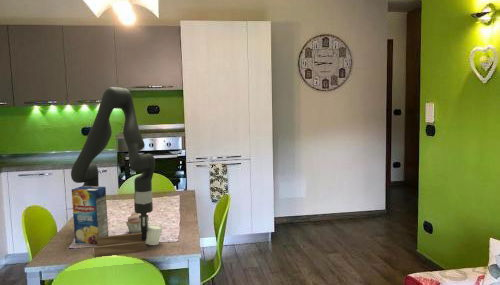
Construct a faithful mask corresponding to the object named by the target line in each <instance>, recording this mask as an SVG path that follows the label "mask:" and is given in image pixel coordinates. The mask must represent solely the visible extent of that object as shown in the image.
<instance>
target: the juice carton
mask: <svg viewBox="0 0 500 285" xmlns="http://www.w3.org/2000/svg"><path fill="white" fill-rule="evenodd" d="M71 199H72V215H73V228H74V229H73V230H74V242H75V243H74V244H84V245H95V246H97V237H104V236H109V224H108V223H109V222H108V221H109V220H108V209H107V208H108V205H107V203H108V202H107V188H106V186H99V187H97V186H83V185H82V186H78V187H75V188H72V189H71Z"/></svg>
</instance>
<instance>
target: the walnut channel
mask: <svg viewBox="0 0 500 285" xmlns="http://www.w3.org/2000/svg"><path fill="white" fill-rule="evenodd" d="M142 251H144V252H145V251H147V247H146V241H142V233H141V232H140V233H125V234H116V235H108V236H104V237H97V245H95V246H94V247H93V254H94V256H93V257H99V256H100V257H101V256H108V255H118V254H119V255H120V254H127V253H134V252H142Z"/></svg>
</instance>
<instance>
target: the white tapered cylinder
mask: <svg viewBox="0 0 500 285" xmlns="http://www.w3.org/2000/svg"><path fill="white" fill-rule="evenodd" d="M162 231H163V227H162V226H161V225H157V224H156V225H155V224H148V227H147V234H146V241H145V245H146V244H147V245H149V246H158V245H159V243H160V239H161V236H162Z"/></svg>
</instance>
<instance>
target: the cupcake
mask: <svg viewBox="0 0 500 285" xmlns="http://www.w3.org/2000/svg"><path fill="white" fill-rule="evenodd" d="M139 215H141V214H140V213H139V214H138V213H135V211H134V212H133V211H132V213H131V214H130V215H129V216H128V218H127V221H125V224H126V226H127V229H128V231H129V232H128V233H129V234H133V233H141V228H140V221H139Z"/></svg>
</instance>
